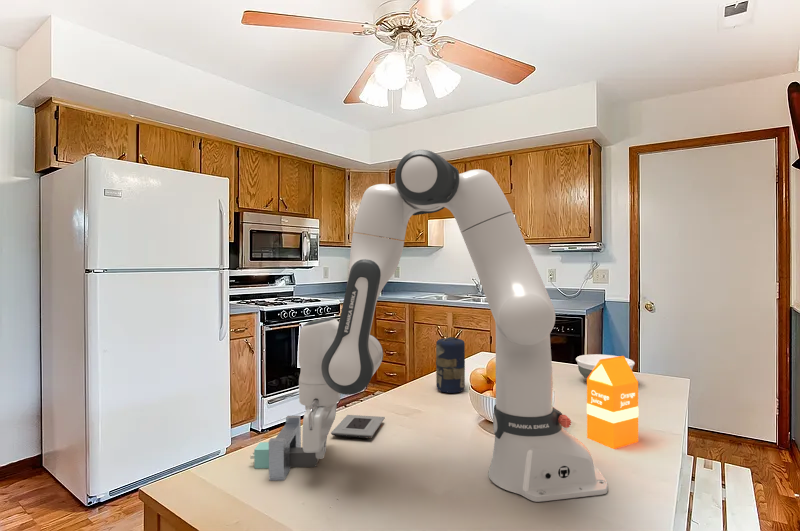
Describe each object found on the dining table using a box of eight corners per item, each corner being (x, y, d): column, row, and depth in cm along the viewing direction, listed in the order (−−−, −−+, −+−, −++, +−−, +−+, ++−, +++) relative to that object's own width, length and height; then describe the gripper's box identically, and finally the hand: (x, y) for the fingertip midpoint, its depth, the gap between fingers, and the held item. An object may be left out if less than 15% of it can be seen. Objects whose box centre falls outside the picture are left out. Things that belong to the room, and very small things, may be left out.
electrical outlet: (372, 443, 113) (372, 434, 113) (330, 440, 115) (330, 431, 115) (384, 424, 125) (384, 415, 125) (347, 422, 128) (347, 413, 127)
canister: (432, 388, 158) (431, 335, 157) (457, 385, 161) (457, 333, 160) (443, 396, 149) (442, 340, 148) (470, 393, 152) (469, 338, 151)
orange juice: (639, 442, 111) (638, 358, 110) (613, 449, 107) (613, 362, 106) (610, 431, 118) (610, 352, 117) (586, 437, 114) (585, 356, 113)
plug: (318, 459, 103) (318, 441, 103) (315, 467, 99) (314, 449, 99) (255, 460, 103) (254, 442, 103) (249, 468, 99) (248, 449, 99)
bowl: (587, 391, 152) (587, 366, 152) (568, 376, 171) (568, 354, 170) (645, 391, 151) (645, 366, 151) (620, 376, 170) (620, 354, 170)
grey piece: (300, 449, 109) (300, 415, 109) (284, 480, 94) (283, 441, 94) (288, 449, 109) (287, 415, 109) (269, 480, 94) (268, 441, 94)
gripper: (326, 408, 90) (327, 478, 91) (340, 380, 111) (341, 437, 111) (293, 408, 91) (295, 478, 91) (314, 380, 111) (315, 437, 111)
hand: (320, 455), depth 101 cm, fingers closed
